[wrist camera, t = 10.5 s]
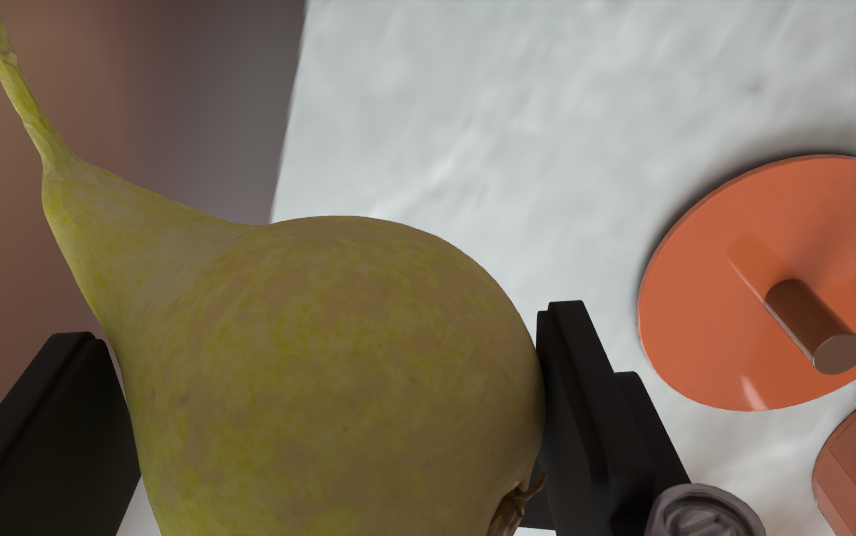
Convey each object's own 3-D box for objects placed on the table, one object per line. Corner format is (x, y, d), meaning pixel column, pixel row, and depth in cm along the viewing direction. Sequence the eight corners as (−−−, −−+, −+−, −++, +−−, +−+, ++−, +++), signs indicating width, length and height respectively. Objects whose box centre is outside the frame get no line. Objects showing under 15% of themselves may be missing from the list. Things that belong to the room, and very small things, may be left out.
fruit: (544, 488, 16) (175, 202, 19) (711, 270, 10) (145, -79, 13) (345, 782, 11) (-82, 351, 15) (439, 693, 6) (-281, 33, 9)
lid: (783, 88, 32) (859, 131, 27) (989, 244, 37) (1088, 306, 32) (574, 328, 39) (602, 401, 33) (772, 435, 43) (824, 514, 38)
